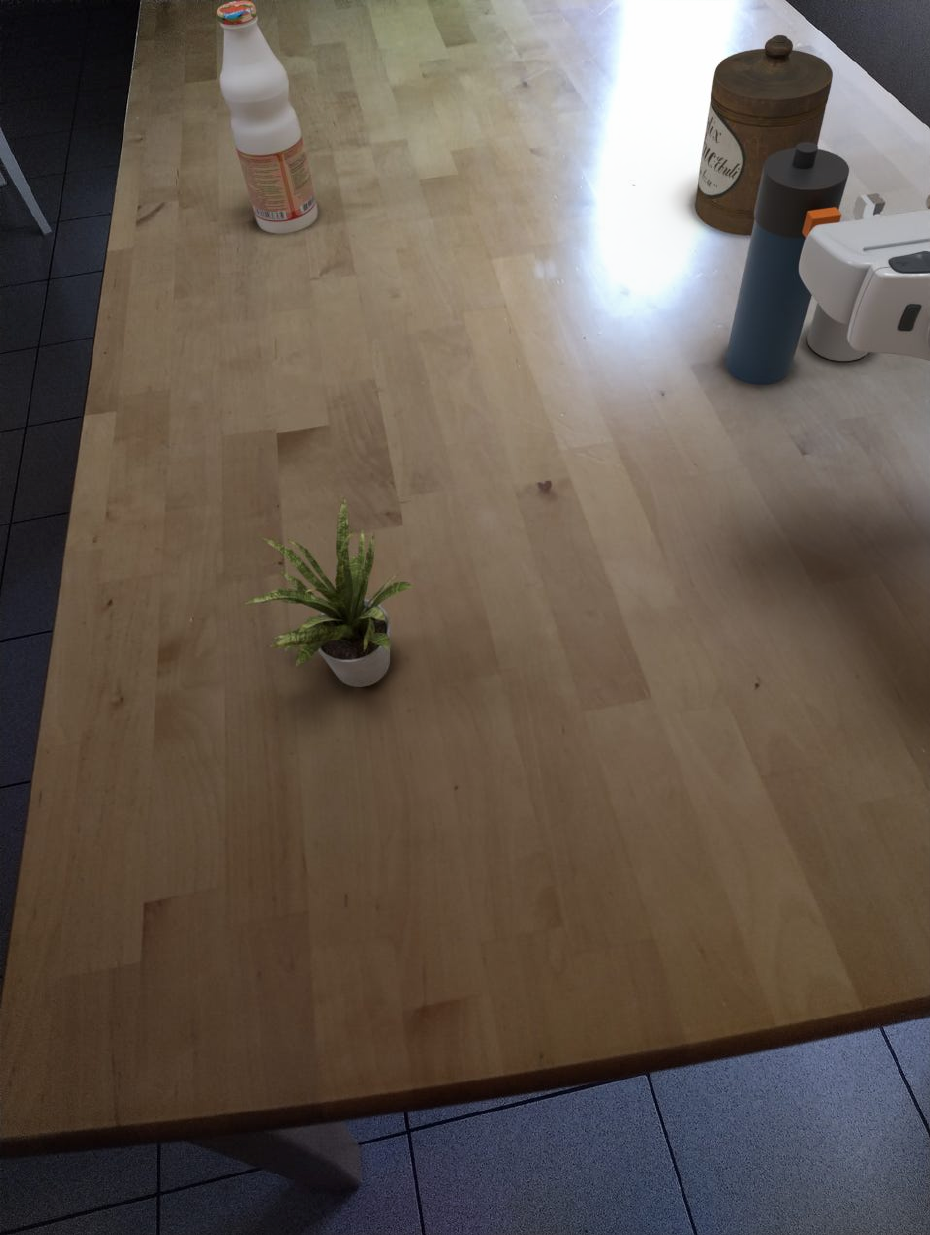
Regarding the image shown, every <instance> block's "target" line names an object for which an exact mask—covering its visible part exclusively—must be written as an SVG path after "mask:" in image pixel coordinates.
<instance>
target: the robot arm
mask: <svg viewBox="0 0 930 1235" xmlns="http://www.w3.org/2000/svg"><path fill="white" fill-rule="evenodd" d="M885 205H886V201H885V200H884V199H883V198H882V197H881V196H880V193H878V192H876V193H868V194H859V195H858V196H857V197H856V201H855V203H854V207H853V210H852V211H853V212H852V214H853V218H854V219H851V220H844V221H839V222H836V223H828V224H820V225H816V226H815V227H813V228H812V230H811V231H810V232H809V234H808V236H807V238H806V240H805V243H804V246H803V249H802V253H801V258H800V263H799V274H800V277H801V279H802V281H803V282H804V284H805V286H806V287H807V289H808V290H809V292H810V293H811V295H812V296H811V297H813V299H814V300H815V302H816V304H817V303H818V304H819V305H820V306H821V308H822V309H823V310H824V311H825V312H826V313H827V314H828V315H829V316H830V317H831V318H833V319H834V320H836V321H838V322H840V323H842V324H846V325H849V328H848V333H847V340H848V342H849V344H850V345H851V346H852V347H853V348H854V349H855V350H858V351H862V352H869V353H873V354H875V353H876V354H888V355H889V354H890V355H897V356H905V357H911V358H917V359H920V360H924V361H928V362H930V194H929V195H928V196H927V197H926V200H925V206H926V208H927V209H924V210H917V211H910V212H909V211H908V212H901V213H896V214H888V215H882V214H881V213H882V212H883V210H884V208H885Z"/></svg>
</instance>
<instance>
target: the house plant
mask: <svg viewBox="0 0 930 1235" xmlns="http://www.w3.org/2000/svg"><path fill="white" fill-rule="evenodd" d="M349 528H350V526H349V520H348V515H347V500H346V496H344V497H343V498H342V502H341V505H340V508H339V514H338V517H337V528H336V542H335V546H336V547H335V548H336V549H335V551H336V558H337V564H336V566H335V567H336V569H335V570H336V575H335V579H334V581H335V586H334V584H333V583H332V582H331V580H330V579H329V578H328V577H327V575H326V574H325V572H324V571H323V569H322V567H321V566H320V564H319V563H318V562H317V560H316V559H315V558H314V556H313V555H312V554H311V552H310V551H309V550H308V549H307V548H306V547H304V546H303V545H301V544H299V543H298V542H296V541H294V540H292V539H289V538H287V540H288V541H289V542H290V543H291V544H292V545H293V546H295V547H296V548H297V549H298V550H299V551H300V552H301V554H302V555H303V556H304V557H305V558H306V559H307V561H308V562H309V564H310V565H311V566H312V569H313V570H314V571H315V572H316V573H317V575H318V576H319V577H318V576H316V575H315V573H314V572H313V571H312V569H310V567H309V566H308V565H307V564H306V563H305V562H304V560H303V559H302V558H301V557H300V556H299V555H298V554H297V553H296V552H295V551H294V550H292V549H290V548H289V547H287V546H285V545H283V544H280V543H278V542H276V541H274V540H271V539H269V538H265V537H260V536H259V537H260V539H261V540H262V541H264V542H265V543H266V544H268V545H269V546H271V547H272V548H274V549H275V550H276V551H278V552H279V554H281V555H282V556H283V557H285V558H286V559H287V560H288V561H289V562H290V563H291V564H292V565H293V566H294V567H295V568H296V570H298V572H299V574H301V575H302V577H303V578H304V579H305V580H306V581H307V582H309V583H310V584H311V585H312V586H313V587H314V588H308V587H307V586H306V585H305V584H304V583H303V581H301V580H300V579H298V578H297V577H294V576H293V575H291V574H289V573H287V572H284V571H281V570H279V573H280V574H281V575H282V576H283V577H284V578H285V579H287V581H288V582H290V583H291V585H293V586H294V587H295V589H293V588H278V589H276V590H273V591H270V592H268V593H264V594H263V595H260V596H257V597H255V598H252V599H250V600H249V601H247V602H246V603H244V604H242V605H251V604H256V603H261V604H264V603H268V602H273V601H281V600H282V601H283V602H284V603H286V604H294V605H296V604H297V605H298V604H301V605H304V606H307V607H309V608H312V609H314V610H315V611H317V612H320V613H321V614H320V615H313V616H308V617H307V619H306V621H305V622H303V623H302V624H301V625H300V627H299V628H297V629H295V630H290V631H288V632H287V631H286V632H285V633H282V634H279V635H277V636H276V637H275V638H273V639H272V641H275V640H277V641H276V642H273V643H272V644H269V645H268V646H266V647H265V648H264V650H265V649H278V648H282V647H284V650H283V653H285V652H286V651H287V650H291V649H296V648H297V647H299V646H300V647H299V649H298V651H297V655H296V660H295V668H297V667H298V666H299V665H301V664H303V663H306V662H307V661H308V660H310V659H311V658H312V657H313V656H315V654H316V653H317V651H318V652H319V654H320V656H321V657H322V658H323V659H324V660H325V662H326V663H327V664H328V666H329V667H330V669H332V672H333V673H334V675H335V676H336V677H337V679H339V680H340V681H341V683H343V684H346V685H347V686H351V687H354V688H363V687H364V688H365V687H367V686H368V687H369V686H372V685H373V684H375V683H378V682H379V681H380V680H381V679H383V677H384V676H385V675H386V674H387V672H388V671H389V668H390V663H391V639H392V638H391V634H392V633H391V632H392V628H391V627H392V626H391V620H390V616H389V615H388V612H387V611H386V610H385V609H384V607H382V605H380V604H381V603H383V602H384V601H386V600H387V599H389V598H391V597H393V596H395V595H397V594H399V593H401V592H403V591H406V590H408V589H415V590H417V588H416V587H414V585H411V584H410V583H408V582H407V581H397V582H394V583H392V584H391V585H389V584H390V583H391V582H392V581H393V580H395V578H397V576H399V575H400V572H398V573H396V574H395V575H394V576H392V577H391V578H389V579H388V580H387V581H386V582H385V583H384V584H383V585H382V586H381V587H380V588H379V589H378V590H377V591H376V592H375V593H374V594H372V596H371V598H370V599H366V595H367V590H368V586H369V579H370V575H371V572H372V568H373V563H374V559H375V558H374V557H375V555H374V554H375V531H373V533H372V535H371V538H370V542H369V546H368V548H367V551H366V540H365V533H364V528H363V527H361V532H360V540H359V543H358V549H357V556H351V557H349V556H350V555H349V547H350V546H349V544H350V541H351V539H352V538H353V535H354V534H355V530H356V528H354V529H352V530H351V532H349V531H350V530H349ZM319 578H320V579H321V580H322V581H323V582H322V581H321V580H320V579H319ZM388 585H389V586H388ZM387 586H388V587H387ZM313 590H314V591H315V592H316V591H317V592H319V593H320V594H321V595H322V596H323V597H320V596H317V595H315V594H314V593H313V592H312V591H313ZM324 598H325V599H324ZM279 639H280V640H279Z"/></svg>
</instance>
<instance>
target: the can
mask: <svg viewBox="0 0 930 1235" xmlns="http://www.w3.org/2000/svg"><path fill="white" fill-rule="evenodd" d="M848 328H849V325H846V324H842V323H840V322H838V321H836V320H834V319H833V318H831V317H830V316H829V315H828V314H827V313H826V312H825V311H824V310H823V309H822V308H821V306H820V305H819V304H818V303H817V302H816V305H815V309H814V313H813V317H812V320H811V323H810V327H809V329H808V332H807V333H808V334H807V336H806V340H807V344H808V345H807V346H809V347H810V349H811V350H812V351H813V352H814V353H816V354H817V355H818V356H820V357H822V358H825V359H827V360H831V361H835V362H851V361H855V360H859V359H862V358H863V357H866V356H867V355H868V354H869V353H870V352H862V351H858V350H855V349H854V348H853V347H852V346H851V345H850V344H849V342H848V340H847V333H848Z"/></svg>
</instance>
